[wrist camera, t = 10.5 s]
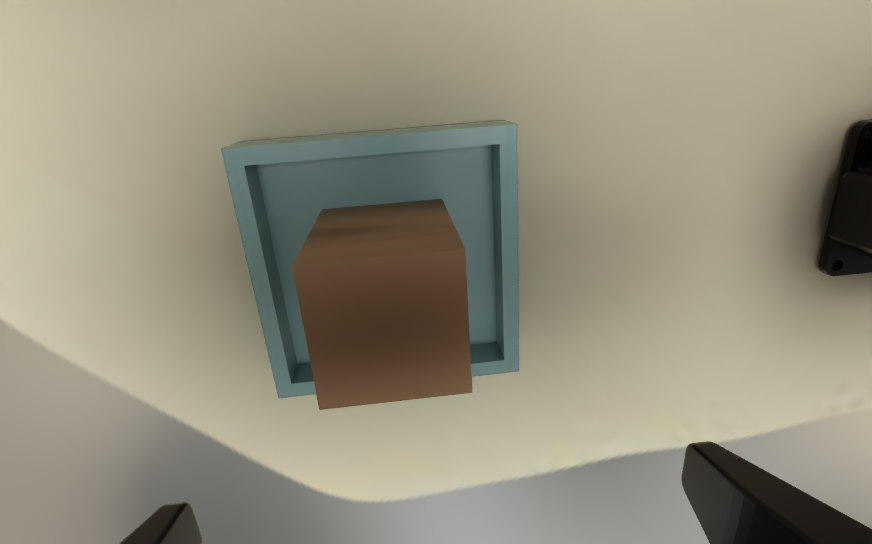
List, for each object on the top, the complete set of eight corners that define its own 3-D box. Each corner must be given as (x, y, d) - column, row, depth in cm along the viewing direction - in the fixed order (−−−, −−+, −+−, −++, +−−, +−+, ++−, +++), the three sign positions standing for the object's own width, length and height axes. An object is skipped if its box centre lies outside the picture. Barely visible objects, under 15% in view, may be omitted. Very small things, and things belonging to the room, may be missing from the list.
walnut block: (448, 305, 20) (472, 392, 14) (339, 316, 20) (319, 409, 14) (442, 198, 18) (465, 249, 13) (322, 209, 18) (291, 265, 12)
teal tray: (503, 120, 18) (516, 124, 16) (507, 346, 21) (519, 371, 20) (239, 141, 17) (220, 148, 15) (288, 370, 21) (278, 398, 19)
